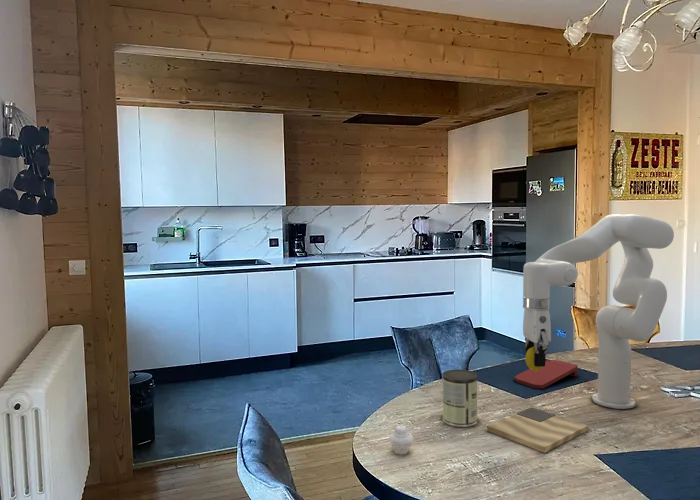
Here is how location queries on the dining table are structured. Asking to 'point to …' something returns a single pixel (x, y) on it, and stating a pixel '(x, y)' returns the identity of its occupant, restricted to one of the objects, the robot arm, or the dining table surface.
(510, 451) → the dining table surface
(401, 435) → the white rounded piece
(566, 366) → the red sloped ramp
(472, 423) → the coffee can
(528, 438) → the board
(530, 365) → the lemon
